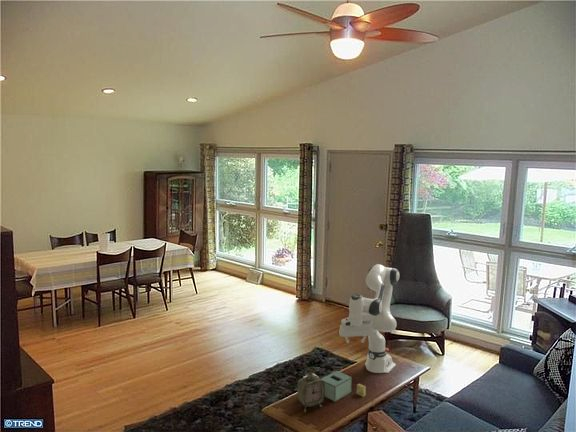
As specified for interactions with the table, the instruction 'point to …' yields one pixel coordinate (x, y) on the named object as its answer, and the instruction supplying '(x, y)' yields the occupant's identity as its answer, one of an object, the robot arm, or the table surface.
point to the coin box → (337, 385)
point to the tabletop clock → (311, 390)
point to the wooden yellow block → (361, 390)
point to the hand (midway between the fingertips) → (355, 342)
